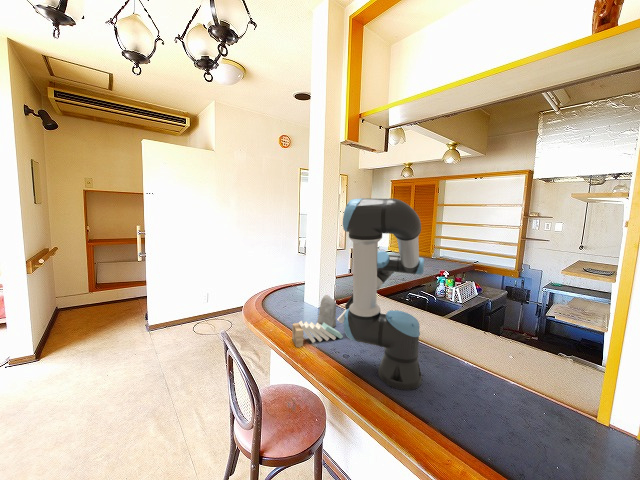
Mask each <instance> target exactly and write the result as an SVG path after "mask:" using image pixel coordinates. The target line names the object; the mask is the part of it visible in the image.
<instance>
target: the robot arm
mask: <svg viewBox="0 0 640 480" xmlns="http://www.w3.org/2000/svg"><path fill="white" fill-rule="evenodd" d="M342 227H343V231H344V232H347V233H348V238H349V240H351V242H352V274H353V275H352V277H353V278H352V283H353V284H352V288H353V289H352V294H351V296H350V298H349V299H348V301H347V302H346V303H345V305H344V307H345V309H344V310H343V312H341V314H340V315H339V316H338V317H337V318H336V321H338V322H339V323H340V324H342V325H343V330H344V333H345V337H346V338H348V339H349V340H351V341H354V342H357V343H363V344H367V345H373V346H376V347H381V348H384V354H383V356H382V358H381V361H380V363H379V366H378V376H379V378H380V380H381V381H382V382H383V383H385V385H387V386H390V387H392V388H394V389H398V390H403V391H404V390H405V391H408V390H410V391H411V390H414V389H417V388H419V387H420V386H421V385H422V381H423V380H422V377H423V376H422V375H423V374H422V371H421V367H420V363H419V360H418V359H419V342H420V335H421V332H420V322H419V320H418V319H417V317H415V316H414V315H412V314H410V313H408V312H404V311H402V310H398V309H397V310H396V309H395V310H393V309H391V310H388V311H386V313H385V314H384V313H381V307H380V305H378V304H377V300H378V299H377V293H378V290H379V289H380V288H381V287H382V286H383V285H384V284H385V283H386V282H387V280H388V279H389V278H390V277H391V276H392V275H393V274H394V273H400V274H401V273H402V274H409V275H423V274H424V271H425V258H423V257H420V249H419V242H420V241H419V236H420V234H421V232H422V222H421V219H420V216H419V215H418V213H417V212H416V211H415V209H414V208H413V207H411V206H410V205H409V204H408V203H406V202H404V201H403V200H401V199H397V198H390V197H389V198H373V197H371V198H368V197H367V198H363V197H362V198H361V197H360V198H352V199H351V200H349V201H348V202H347V204H346V206H345V208H344V211H343V216H342ZM383 234H387V235H388V234H390V235H391V234H392V235H393V236H394V237H395V238H396V241H397V247H398V253H399V255H396V254H394V255H393V254H389V253H388V252H386V251H384V250H378V242H380V241H381V240H382V238H383Z"/></svg>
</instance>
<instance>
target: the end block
mask: <svg viewBox="0 0 640 480" xmlns="http://www.w3.org/2000/svg"><path fill="white" fill-rule="evenodd" d="M291 329H292V330H291V331H292V334H291V335H292V339H291V340H292V341H293V343H294V345H295V347H296V348H301V346H303V347H304V330H303V329H302V327H301V326H300V324H299V322H296V323H292V327H291Z"/></svg>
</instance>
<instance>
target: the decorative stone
mask: <svg viewBox="0 0 640 480" xmlns="http://www.w3.org/2000/svg"><path fill="white" fill-rule="evenodd" d="M336 316H337V302H336V301H335V300H334V299H333V298H332V297H331V296H330V295H329V294H325V295H323V297H322V298H321V300H320V306H319V312H318V318H317V322H318V323H319V324H321V325H322V324H323V322H324V323H325V324H327V325H329V326H330V327H332V328H335V327H336V325H337V318H336Z"/></svg>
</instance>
